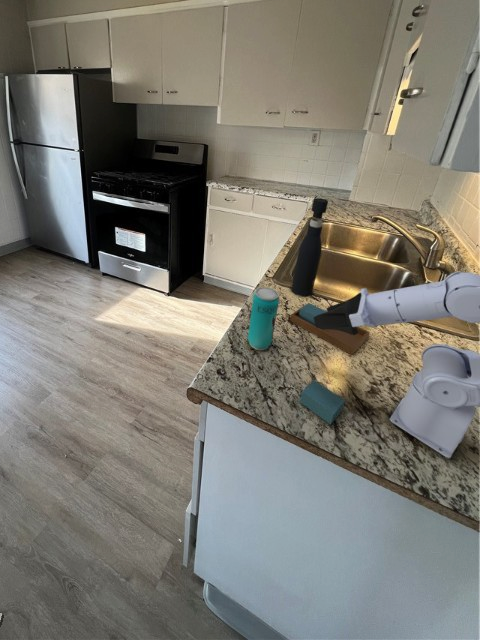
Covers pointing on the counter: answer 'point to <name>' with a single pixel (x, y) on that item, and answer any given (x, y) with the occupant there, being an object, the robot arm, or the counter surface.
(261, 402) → the counter surface
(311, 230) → the black water bottle
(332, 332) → the back plate
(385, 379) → the counter surface
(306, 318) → the mounted pad
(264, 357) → the counter surface
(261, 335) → the beverage can
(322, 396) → the loose pad
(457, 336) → the counter surface
